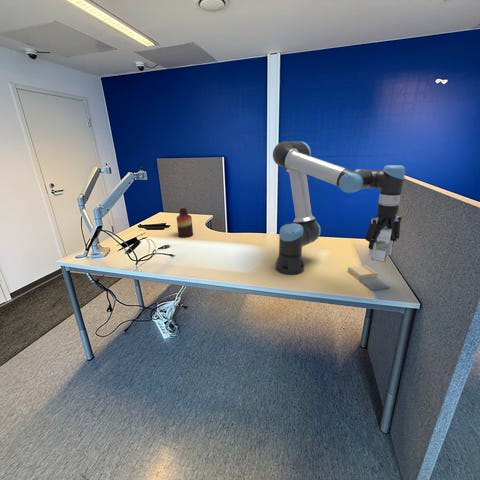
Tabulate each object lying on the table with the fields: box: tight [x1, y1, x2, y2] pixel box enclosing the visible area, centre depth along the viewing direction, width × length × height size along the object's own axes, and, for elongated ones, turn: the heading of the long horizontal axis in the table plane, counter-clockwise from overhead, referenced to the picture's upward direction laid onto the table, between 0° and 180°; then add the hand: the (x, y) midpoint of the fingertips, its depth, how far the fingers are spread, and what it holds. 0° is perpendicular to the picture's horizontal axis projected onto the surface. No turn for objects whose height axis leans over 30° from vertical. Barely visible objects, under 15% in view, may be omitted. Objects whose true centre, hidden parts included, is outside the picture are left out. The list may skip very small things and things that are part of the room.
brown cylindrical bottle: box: [176, 207, 194, 239], centre depth 188 cm, size 11×11×20 cm
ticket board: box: [347, 264, 378, 281], centre depth 128 cm, size 10×9×2 cm
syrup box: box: [370, 226, 392, 263], centre depth 112 cm, size 6×6×14 cm
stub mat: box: [358, 277, 390, 292], centre depth 119 cm, size 9×9×1 cm
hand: (379, 254), depth 113 cm, fingers closed on syrup box, 8 cm apart
